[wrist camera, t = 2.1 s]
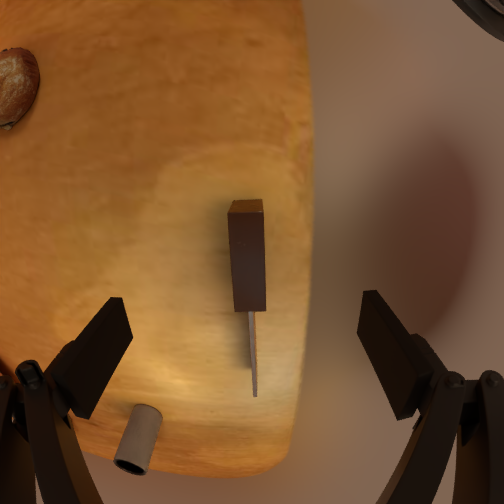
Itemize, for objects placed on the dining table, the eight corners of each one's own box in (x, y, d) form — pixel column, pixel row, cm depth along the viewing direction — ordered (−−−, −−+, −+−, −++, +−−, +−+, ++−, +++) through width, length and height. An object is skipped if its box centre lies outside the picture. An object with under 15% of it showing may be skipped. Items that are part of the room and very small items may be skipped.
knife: (233, 200, 24) (227, 212, 20) (262, 199, 24) (263, 211, 20) (244, 368, 31) (242, 400, 26) (266, 368, 31) (267, 400, 26)
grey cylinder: (128, 407, 35) (107, 460, 25) (145, 400, 34) (124, 458, 24) (150, 424, 36) (133, 476, 26) (168, 418, 35) (153, 474, 25)
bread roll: (11, 127, 24) (-24, 156, 19) (-11, 68, 17) (-51, 89, 11) (60, 95, 24) (22, 120, 18) (38, 28, 16) (-6, 38, 11)
